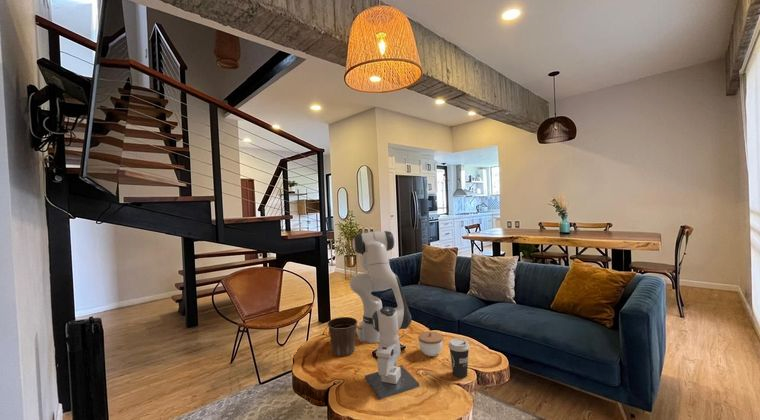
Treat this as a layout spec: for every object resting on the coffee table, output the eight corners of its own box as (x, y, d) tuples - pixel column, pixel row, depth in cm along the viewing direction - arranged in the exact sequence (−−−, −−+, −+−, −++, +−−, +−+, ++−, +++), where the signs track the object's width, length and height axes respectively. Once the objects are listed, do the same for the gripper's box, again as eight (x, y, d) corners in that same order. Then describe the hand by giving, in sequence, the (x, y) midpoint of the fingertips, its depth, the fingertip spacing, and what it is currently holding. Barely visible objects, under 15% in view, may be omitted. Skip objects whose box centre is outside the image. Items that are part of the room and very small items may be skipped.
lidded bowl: (436, 361, 161) (435, 340, 160) (414, 355, 168) (413, 334, 168) (447, 351, 171) (446, 330, 170) (426, 345, 178) (425, 326, 178)
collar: (381, 381, 143) (381, 372, 142) (386, 373, 149) (386, 364, 149) (396, 384, 140) (395, 375, 140) (400, 375, 146) (400, 367, 146)
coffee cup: (455, 381, 143) (454, 348, 142) (445, 370, 152) (444, 339, 151) (474, 377, 145) (473, 344, 145) (463, 366, 155) (462, 336, 154)
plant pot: (361, 344, 183) (359, 316, 183) (356, 358, 167) (354, 328, 167) (333, 344, 185) (331, 316, 184) (325, 358, 169) (323, 328, 168)
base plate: (364, 378, 149) (364, 363, 148) (401, 368, 156) (400, 353, 156) (379, 399, 133) (378, 382, 133) (419, 386, 141) (418, 370, 140)
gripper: (390, 334, 155) (391, 362, 155) (374, 354, 136) (375, 386, 136) (403, 335, 152) (404, 364, 153) (388, 356, 133) (389, 389, 134)
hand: (390, 374), depth 144 cm, fingers closed on collar, 7 cm apart
